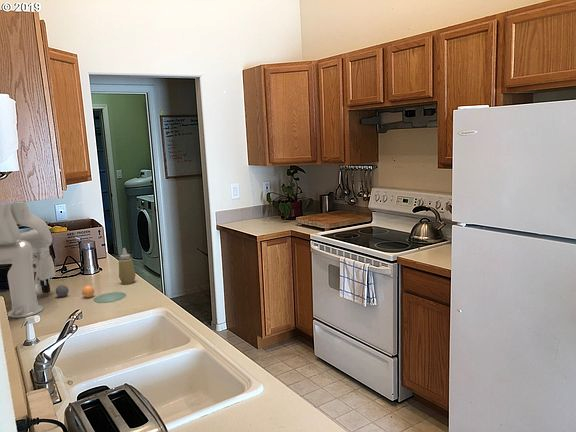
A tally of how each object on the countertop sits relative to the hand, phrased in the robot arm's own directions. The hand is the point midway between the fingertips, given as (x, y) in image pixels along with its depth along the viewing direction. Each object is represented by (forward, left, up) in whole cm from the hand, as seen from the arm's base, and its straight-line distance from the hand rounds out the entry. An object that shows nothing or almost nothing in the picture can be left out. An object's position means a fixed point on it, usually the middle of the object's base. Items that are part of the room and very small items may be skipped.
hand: (46, 292), depth 224 cm
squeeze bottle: (+16, -33, -2) cm, 37 cm away
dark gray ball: (-2, -9, +1) cm, 9 cm away
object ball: (-4, -23, +1) cm, 23 cm away
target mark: (-6, -33, -2) cm, 34 cm away
